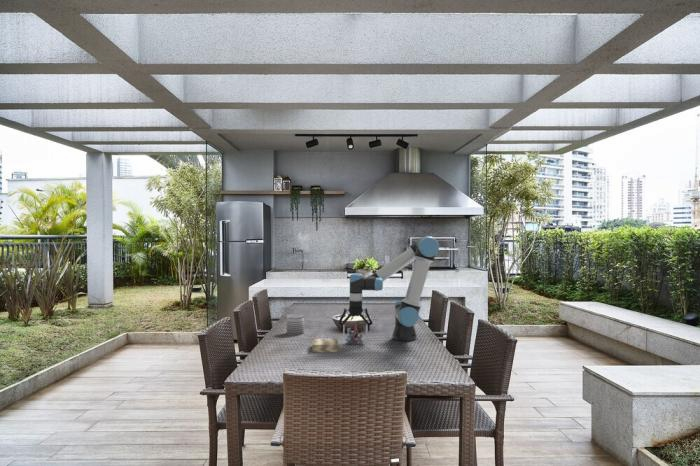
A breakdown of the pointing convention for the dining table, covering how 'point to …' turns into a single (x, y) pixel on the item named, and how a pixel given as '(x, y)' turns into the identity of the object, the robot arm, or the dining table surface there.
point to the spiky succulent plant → (354, 336)
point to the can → (295, 324)
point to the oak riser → (325, 345)
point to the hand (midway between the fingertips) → (355, 336)
